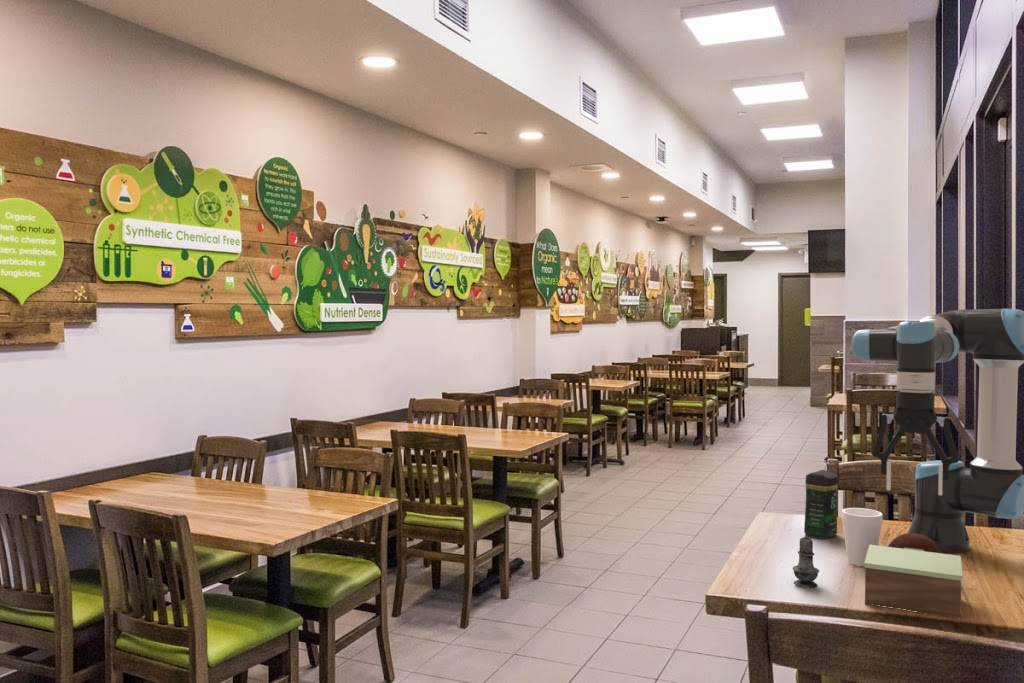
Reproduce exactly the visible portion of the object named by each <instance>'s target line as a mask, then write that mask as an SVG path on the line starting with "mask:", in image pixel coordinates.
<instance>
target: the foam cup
mask: <svg viewBox="0 0 1024 683" xmlns="http://www.w3.org/2000/svg"><path fill="white" fill-rule="evenodd" d="M883 517H884V516H883V513H882V512H881V511H878V510H876V509H870V508H864V507H863V508H861V507H847V508H843V509H842V510H841V521H842V527H843V535H844V542H845V544H844V545H845V550H846V558H847V562H848V564H850V563H851V564H850V565H852V564H853V565H852V566H855V565H858V566H857V567H861V566H864V562H865V559H866V555H867V552H868V548H869V545H877V546H879V543H880V537H881V530H882V524H883V522H884V521H883Z"/></svg>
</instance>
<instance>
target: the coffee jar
mask: <svg viewBox="0 0 1024 683" xmlns="http://www.w3.org/2000/svg"><path fill="white" fill-rule="evenodd" d="M838 478H839V476H838V474H837V473H835V471H832V470H827V469H826V470H825V469H820V470H818V471H813V472H810V473H807V474H806V475H805V482H804V483H805V484H804V485H805V510H804V512H805V513H804V530H803V531H804V535H805V534H806V533H807V535H808V536H809V537H811V536H813V537H812V538H814V537H817V538H816V539H819V538H820V539H823V538H824V539H830V538H832V537H834V536H836V535H837V533H838V512H837V511H838V510H837V509H838V501H837V500H838V487H839V479H838Z"/></svg>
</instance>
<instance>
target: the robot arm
mask: <svg viewBox="0 0 1024 683" xmlns="http://www.w3.org/2000/svg"><path fill="white" fill-rule="evenodd" d="M851 350H852V354H853V356H854V358H856V359H857V360H862V361H868V362H871V361H877V362H878V361H879V362H880V361H881V362H882V361H883V362H896V388H897V389H898V391H897V392H896V398H895V400H896V407H895V408H896V410H895V412H894V413H891V414H890V413H888V414H886V413H882V414H881V415H880V424H881V425H880V429H879V432H878V435H877V438H876V441H875V444H874V448H873V450H872V456H873V457H874V458H876V459H877V458H878V459H879V460H880V462H881V463H880V466H881V467H880V468H881V469H880V472H881V474H882V475H885V476H886V491H891V489H892V459H888V458H889V457H890V455H891V454H892V452H893V450H894V449H895V447H896V445H897V444H898V443H899V441H900V440H901V438H902V437H903V435H904V433H906V434H914V433H916V434H919V435H920V434H921V435H923V434H925V435H926V437H927V439H928V441H929V442H930V444H931V446H932V447H933V450H934V451H935V453H936V454H937V456H938V458H939V459H940V460H938V459H937V460H927V461H922V462H919V463H918V464H916V466H915V467H916V468H915V477H914V515H913V519H912V521H911V523H910V526H909V530H908V531H907V533H917V534H921V535H925V536H927V537H929V538H930V539H932V540H933V541H934V542H935V543H936V545H937V546H938V547H939V549H940V551H941V552H942V553H963V552H968V551H970V549H971V540H970V537H969V534H968V531H967V528H966V525H965V522H964V512H965V513H970V514H978V515H983V516H987V517H988V516H989V517H994V518H996V519H1006V520H1007V519H1008V520H1017V519H1019V518H1020V517H1021V516H1022V515H1023V514H1024V474H1023V466H1022V465H1021V464H1020V463H1019V462H1018V461H1017V460H1016V459H1017V458H1016V457H1017V456H1016V455H1017V453H1016V449H1017V421H1018V420H1017V417H1018V416H1017V415H1018V388H1019V387H1018V382H1019V368H1020V367H1021V365H1023V364H1024V310H1022V309H1018V308H1017V309H1015V308H989V309H987V308H984V309H983V308H982V309H980V308H979V309H965V308H964V309H955V310H950V311H945V312H941V313H937V314H933V315H928V316H926V317H923V318H922V319H920V320H919V321H901V322H899V323H898V325H896V326H889V327H885V328H879V329H871V328H868V329H859V330H857V331H856V332H855V333H854V335H853V336H852V340H851ZM958 353H969V354H972V361H974V363H976V364H977V365H978V367H979V368H978V369H979V372H978V373H979V374H978V405H977V406H978V407H977V408H978V410H977V411H978V412H977V414H978V415H977V438H976V441H977V443H976V444H977V445H976V446H977V447H976V457H975V458H974V459H973V460H971V461H969V462H970V463H969V467H965V466H966V465H965V463H964V461H961V460H959V457H958V453H957V449H956V446H955V442H954V439H953V436H952V430H951V418H950V416H938V415H937V414H936V413H935V402H936V401H935V398H936V396H935V393H934V392H933V391H934V390H935V389H936V388H935V387H936V364H937V363H939V364H944V363H946V362H949V361H951V360H953V359H955V358H956V356H957V355H958ZM892 420H894V421H895V422H896V423H897V424H898V426H899V428H898V430H897V431H896V433H895V434H894V436H893V437H892V438H891V441H890V442H889V444H887V447H886V448H885V450H884V451H883V452H880V451H881V449H882V445H883V442H884V438H885V435H886V433H887V429H888V425H889V424H891V423H892ZM936 422H938V424H939V427H941V428H943V433H944V437H945V441H946V444H947V447H948V451H949V454H950V456H949V457H947V455H946V454H945V451H944V450H943V448H942V447H941V445H940V443H939V441H938V439H937V438H936V436H935V435H934V433H933V431H932V429H931V427H932V426H934V424H935V423H936Z"/></svg>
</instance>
